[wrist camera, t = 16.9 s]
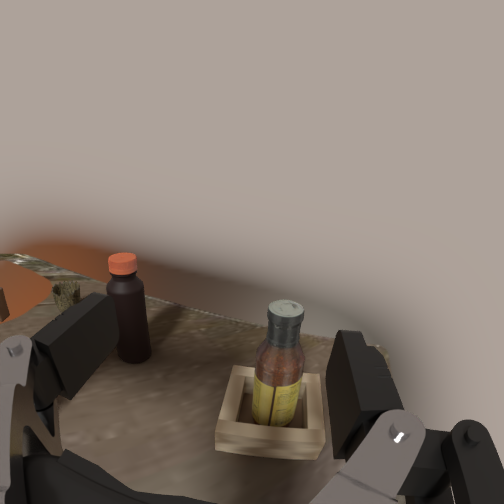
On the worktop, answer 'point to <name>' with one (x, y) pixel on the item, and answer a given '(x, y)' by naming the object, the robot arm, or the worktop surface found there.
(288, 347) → the sauce bottle
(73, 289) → the cup
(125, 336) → the vinegar
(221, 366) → the worktop surface
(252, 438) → the socket block
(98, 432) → the worktop surface
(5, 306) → the wooden block
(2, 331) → the worktop surface
